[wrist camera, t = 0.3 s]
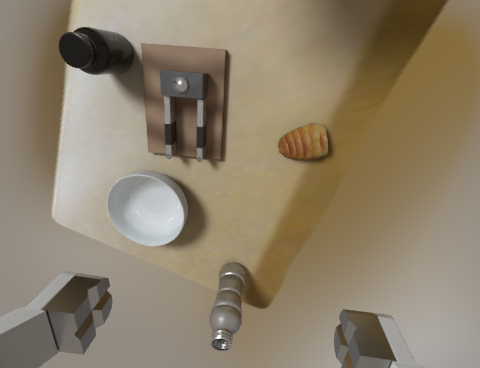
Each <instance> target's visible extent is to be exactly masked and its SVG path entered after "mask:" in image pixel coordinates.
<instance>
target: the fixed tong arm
mask: <svg viewBox="0 0 480 368" xmlns="http://www.w3.org/2000/svg"><path fill="white" fill-rule="evenodd" d="M164 108H165V123H164V126H165V145H166V157H167V158H168V159H171V158H172V157H173V156H174V155H175V154H176V141H177V127H176V113H175V97H173V96H164Z"/></svg>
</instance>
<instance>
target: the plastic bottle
mask: <svg viewBox="0 0 480 368" xmlns="http://www.w3.org/2000/svg"><path fill="white" fill-rule="evenodd" d="M245 283H246V272H245V270H244V268H243V267H242V266H241V265H239V264H237V263H228V264H226V265H224V266H223V267H222V268H221V270H220V273H219V288H218V294H217V297H216V301H215V303H214V306H213V308H212V311H211V314H210V318H209V319H210V325H211V327H212V330H213V331H214V332H213V333H212V340H211V345H212V347H213V348H214V349H216V350H217V351H222V352H223V351H228V350H229V349H230V347H231V343H232V339H233V335H234V334H235V333H236V332H237V331H238V330H239V329H240V326H241V324H242V313H241V299H242V293H243V288H244V286H245Z"/></svg>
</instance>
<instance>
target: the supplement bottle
mask: <svg viewBox="0 0 480 368" xmlns="http://www.w3.org/2000/svg"><path fill="white" fill-rule="evenodd" d="M59 51H60V54H61V56H62V58H63V59H64V61H65V62H66V63H67V64H69V65H70V66H72V67H75V68H79V69H81V70H82V71H84V72H86V73H88V74H92V75H100V74H115V73H123V72H125V71H127V70H128V69H129V68H130V67H131V65H132V62H133V50H132V47H131V45H130V43H129V42H128V41H127V40H126V38H124V37H123V36H122V35H120V34H118V33H115V32H110V31H105V30H100V29H95V28H90V27H81V28H78V29H76V30H75V31H74V32H69V33H66V34H64V35H63V36H62V37H61V38H60V41H59Z"/></svg>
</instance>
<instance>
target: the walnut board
mask: <svg viewBox="0 0 480 368" xmlns="http://www.w3.org/2000/svg"><path fill="white" fill-rule="evenodd" d="M141 47H142V62H143V77H144V92H145V107H146V122H147V137H148V152H152V153H161V154H166V145H165V126H164V123H165V108H164V96H162V95H161V86H160V70H175V71H187V72H199V73H208V97H206V98H207V112H206V124H207V139H206V156H205V157H204V158H210V159H221V157H222V138H223V117H224V96H225V75H226V54H227V50H224V49H211V48H197V47H184V46H171V45H158V44H145V43H141ZM197 100H198V99H196V98H185V97H175V113H176V127H177V141H176V154H175V155H181V156H190V157H197V148H196V136H197Z"/></svg>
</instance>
